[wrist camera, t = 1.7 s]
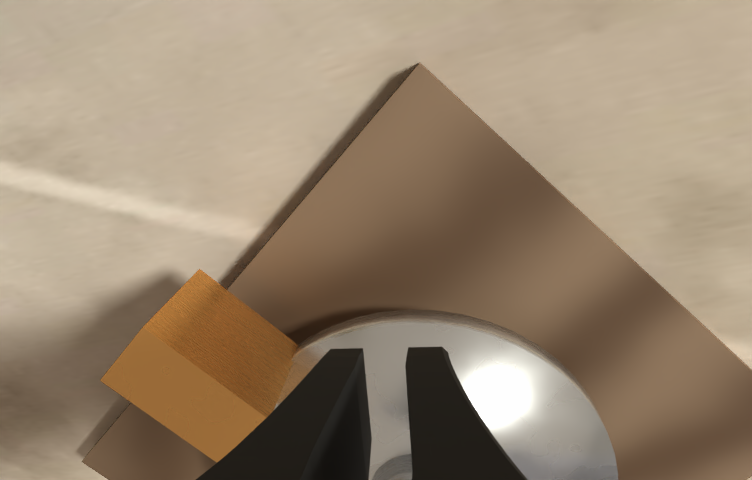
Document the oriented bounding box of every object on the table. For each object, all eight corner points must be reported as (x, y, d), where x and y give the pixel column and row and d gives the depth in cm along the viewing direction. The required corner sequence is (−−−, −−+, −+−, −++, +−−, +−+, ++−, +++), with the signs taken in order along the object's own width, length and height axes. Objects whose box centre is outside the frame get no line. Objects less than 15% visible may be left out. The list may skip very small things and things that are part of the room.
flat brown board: (801, 415, 21) (837, 452, 19) (419, 666, 28) (419, 711, 26) (419, 62, 18) (418, 65, 16) (94, 445, 25) (67, 478, 23)
